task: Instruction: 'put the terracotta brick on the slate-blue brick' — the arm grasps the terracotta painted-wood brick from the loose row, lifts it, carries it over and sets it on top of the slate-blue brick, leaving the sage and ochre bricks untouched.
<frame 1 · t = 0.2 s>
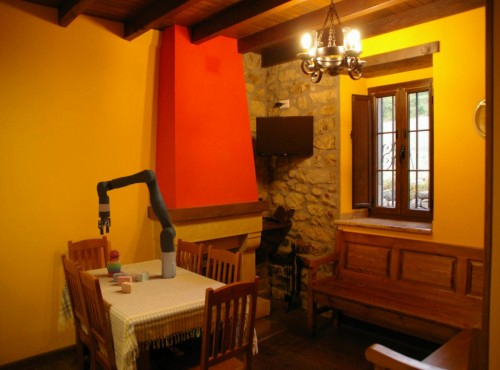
hand: (104, 233, 277), 29 cm above the table, fingers open, 8 cm apart
terracotta brick: (124, 284, 256), on the table
sage brick: (143, 280, 266), on the table
ochre brick: (128, 291, 241), on the table
slate brick: (120, 281, 263), on the table
stacking bear: (114, 275, 278), on the table
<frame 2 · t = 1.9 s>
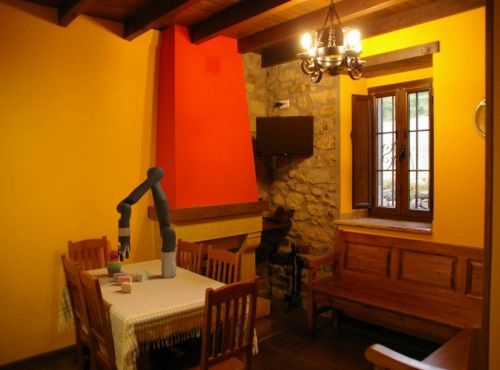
hand: (124, 260, 255), 16 cm above the table, fingers open, 8 cm apart
nothing on the table moved.
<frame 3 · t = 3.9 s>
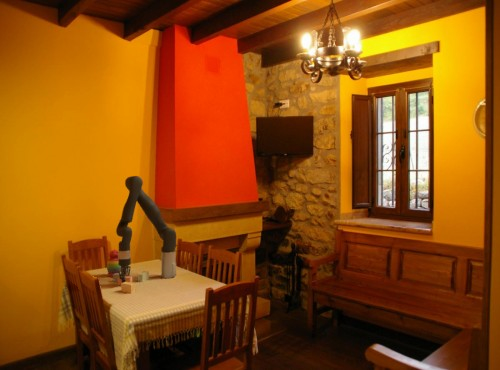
hand: (124, 284, 256), 0 cm above the table, fingers closed on terracotta brick, 3 cm apart
terracotta brick: (125, 284, 256), on the table, touching gripper
everything else where it was.
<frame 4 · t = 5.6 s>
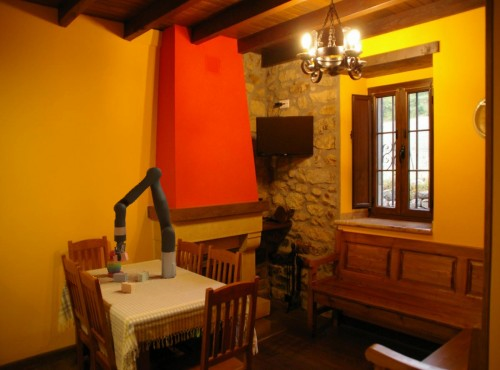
hand: (120, 260, 261), 14 cm above the table, fingers closed on terracotta brick, 3 cm apart
terracotta brick: (122, 261, 261), point 13 cm above the table, tilted 16°, touching gripper
everything else where it was.
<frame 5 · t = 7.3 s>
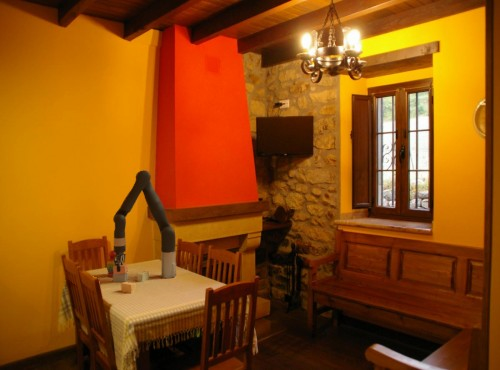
hand: (119, 270, 263), 7 cm above the table, fingers closed on terracotta brick, 3 cm apart
terracotta brick: (120, 273, 263), point 5 cm above the table, tilted 5°, touching gripper, slate brick
slate brick: (120, 281, 263), on the table, touching terracotta brick
everything else where it was.
when the fingers open (7 cm above the table, at t = 7.4 s): terracotta brick stays where it is, resting on slate brick.
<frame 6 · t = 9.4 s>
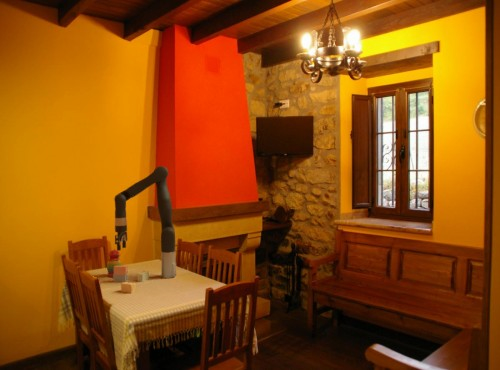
hand: (121, 249, 264), 21 cm above the table, fingers open, 8 cm apart
terracotta brick: (120, 273, 263), point 5 cm above the table, touching slate brick
everything else where it was.
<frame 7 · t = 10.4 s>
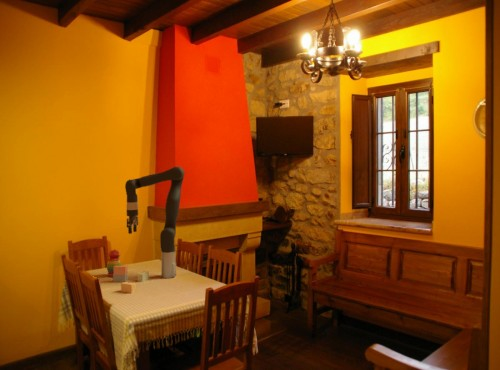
hand: (132, 232, 274), 30 cm above the table, fingers open, 8 cm apart
nothing on the table moved.
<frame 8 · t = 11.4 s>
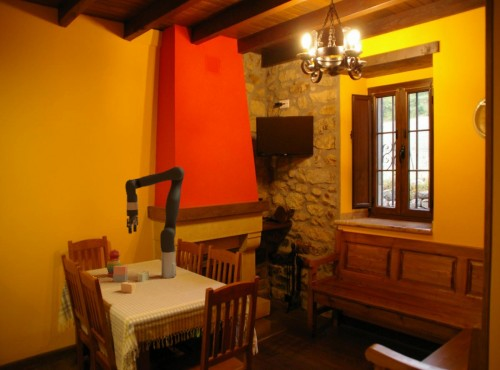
hand: (132, 232, 274), 30 cm above the table, fingers open, 8 cm apart
nothing on the table moved.
at the end: terracotta brick 0.3 cm off-centre on the slate brick, point 5.0 cm above the slate brick's base; sage brick moved 0.2 cm from its start; ochre brick moved 0.2 cm from its start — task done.
